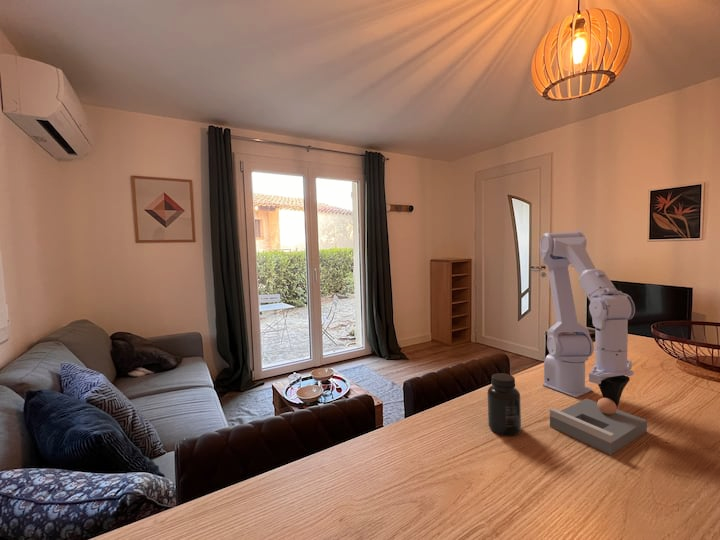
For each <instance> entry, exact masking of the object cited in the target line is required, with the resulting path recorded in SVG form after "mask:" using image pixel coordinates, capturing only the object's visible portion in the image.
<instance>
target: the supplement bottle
mask: <svg viewBox="0 0 720 540" xmlns="http://www.w3.org/2000/svg"><path fill="white" fill-rule="evenodd" d="M521 406H522V405H521V394H520V392H519V390H518V388H516V380H515V376H513V375H511V374H509V373H503V372H498V373H493V374H492V375H491V385H490V386H489V387H488V389H487V418H488V419H487V421H488V426H489V429H490V430H491V431H492V432H494V433H495V434H498V435H502V436H507V437H513V436H517V435H519V434H520V432H522V431H521V429H522V411H521V409H522V408H521Z"/></svg>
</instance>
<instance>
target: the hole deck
mask: <svg viewBox="0 0 720 540" xmlns="http://www.w3.org/2000/svg"><path fill="white" fill-rule="evenodd" d="M597 402H598V401H596V400H593V399H589V398H585V399H582V400H580V401H578V402H575V403H574V404H571V405H569V406H567V407H565V408H563V409H562V410H559V409H556V408H555V407H552V408H550V409H549V427H550V428H553V429H555V430H557V431H558V432H560V433H563V434H565V435H567V436H569V437H571V438H573V439H576V440H578V441H580V442H582V443H584V444H586V445H588V446H590V447H592V448H594V449H596V450H598V451H601V452H602V453H605V454H607V455H609V456H612V455H613V454H615V453H616V452H618V451H620V450H621V449H622V448H624V447H626V446H627V445H629V444H630V443H631V442H633V441H635V440H636V439H638V438H639V437H640V436H642V435H643V434H645V433H647V431H648V420H647V419H645V418H642V417H639V416H638V415H634V414H631V413H628V412H625V411H622V410H620V409H617V410H616V412H615V413H613V414H605V413H603V412H601V411H600V410H599V408H598V406H597Z"/></svg>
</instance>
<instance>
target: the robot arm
mask: <svg viewBox="0 0 720 540" xmlns="http://www.w3.org/2000/svg"><path fill="white" fill-rule="evenodd" d="M587 242H588V241H587V238H586V236H585V234H584V233H583V232H582V231H580V230H576V231H567V232H563V231H562V232H545V233H543V235H542V236H541V238H540V242H539V250H540V258H541V261H542V264H543V265H546V266H547V272H548V278H549V285H550V291H551V296H552V297H551V298H552V302H553V309H554V310H553V311H554V316H555V321H556V322H555V323H554V324H553V325H552V326H551V327H549V329H547V330H546V333H547V334H546V335H547V338H546V339H547V340H546V347H547V351H548V352H549V353H548V354H547V355H546V356H545V359H544V363H543V383H542V386H544V387H546V388H550V389H552V390H554V391H558V392H560V393H563V394H565V395H568V396H570V397H572V398H573V397H574V398H579V397H581V396H583V395H585V394H587V393H589V392H592V391H593V388H592V387H589V386H586V361H589V358H590V357H592V356H593V353H594V351H595V355H594V357H595V359H594V361H595V363H594V364H593V367H592V370H591V371H590V372H589V373H588V382H590V383H593V384H596V385H598V387H599V389H600V392H601V396H602V398H609V399H611V400H612V401H614V402H615V404H616V406H617V407H618V406H619V404H620V400H621V397H622V394H623V391H624V389H625V388H626V386H627V384H628V383H629V382H630V379H631V378H630V377H632V376H634V375H635V373H634V372H635V371H633V370H632V363H633V362H632V361H631V360H628V340H629V339H628V324H629V323H628V322H629V321H630V320H632V319H633V318H634V315H635V313H636V307H635V306H636V305H635V302H634V301H633V299H632V297H631V296H630V295H629V294H627V293H624V292H622V291H621V290H618V289H617V288H616V286H615V285H614V283H613V282H612V281H611V280H610V278H609V277H608V275H607V274H606V272H605V271H604V270H603V269H597V268H596V267H595V265H594V262H593V261H592V259H591V257H590V256H589V253H588V251H587ZM570 265H572V267H573V268H574V270H576V272H577V273H578V275H579V277H578V283H579V286H580V287H581V289H582V290H583V292H584V293H585V296H586V297H587V299H588V300H589V306H588V309H589V313H590V316H591V319H592V321H591V322H592V326H593V327H595V334H594V335H595V346H594V342H593V340H592V337H591V335H590V331H589V329H588V328H587V327H586V326H584V325H582V324H581V323H579V322H578V317H577V312H576V307H575V306H576V305H575V301H574V295H573V294H574V293H573V287H572V284H571V283H572V282H571V278H570V273H569V272H570V271H569V266H570Z"/></svg>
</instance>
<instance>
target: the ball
mask: <svg viewBox="0 0 720 540" xmlns="http://www.w3.org/2000/svg"><path fill="white" fill-rule="evenodd" d="M596 402H597V406H598V408H599V410H600V411H601V412H603V413H605V414H613V413H615V412H616V410H618V406H616V404H615V402H614V401H612V400H611V399H609V398H603V397H602V398H600V399H598V400H597V401H596Z"/></svg>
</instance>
